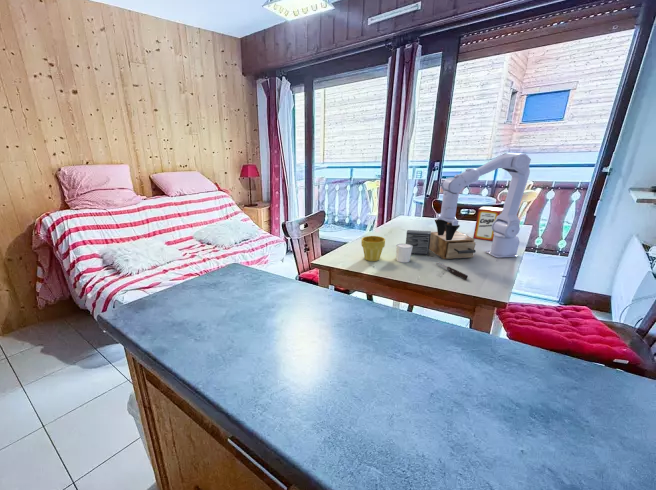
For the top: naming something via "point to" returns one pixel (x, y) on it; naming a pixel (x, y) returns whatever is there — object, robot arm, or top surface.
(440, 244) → the cabinet
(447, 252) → the drawer
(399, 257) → the white tapered cylinder
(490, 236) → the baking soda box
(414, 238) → the small box
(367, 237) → the flower pot
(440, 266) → the kitchen knife
